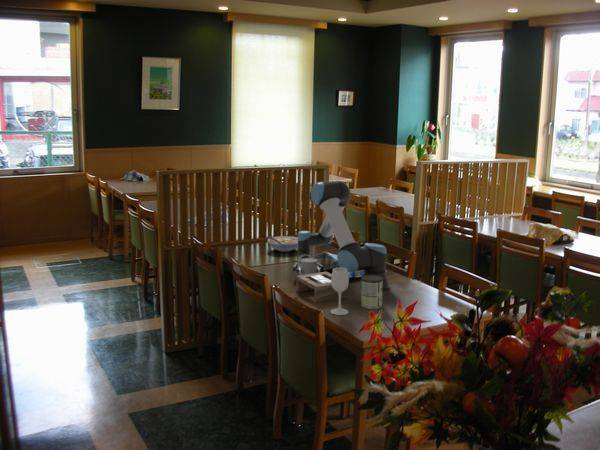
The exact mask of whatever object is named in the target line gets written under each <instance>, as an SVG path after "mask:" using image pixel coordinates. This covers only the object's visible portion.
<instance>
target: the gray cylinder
mask: <svg viewBox="0 0 600 450" xmlns="http://www.w3.org/2000/svg"><path fill="white" fill-rule="evenodd" d="M317 262H319V261H318V259H317V258H314V257H311V258H303V259H300V269H301V275H306V274H313V273H318V272H317Z"/></svg>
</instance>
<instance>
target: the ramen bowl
mask: <svg viewBox="0 0 600 450" xmlns="http://www.w3.org/2000/svg"><path fill="white" fill-rule="evenodd" d="M266 238H268V239H267V242H268V244H269V245H270V247H271V248H272V249H273V250H276V251H278V252H281V253H289V252H291V251H293V250H296V249H298V236H297V237H296V236H284V235H283V236H274V237H273V236H271V235H267V236H266Z"/></svg>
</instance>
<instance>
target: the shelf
mask: <svg viewBox="0 0 600 450" xmlns="http://www.w3.org/2000/svg"><path fill="white" fill-rule="evenodd" d="M314 275H315V276H316V275H322V276H324V277H325V278H327V279H329V280H331V277H332V273H330V272H328V271H323V272H322V271H321V272H320V273H318V272H317V273H313V274H306V275H299V274H298V275H296V276H295V277H296V279H295V280H296V285H295V286H296V288H295V289H296V291H297V293H298V292H303V291H305V292H306V291H312V290H314V291H313V293H314V295H313V296H314V303H322V302H326V301H333V300H339V294H338V292H337V291H335V290H334V289H333V287H332V284H331V282H329V283H321V284H317V283H315V282H313V281H311V280H310V276H314ZM348 288H349V286H348V287H347V289H346V290H345V291H343V292H342V293H341V299H346V298H348V295H349V294H348V293H349V292H348Z"/></svg>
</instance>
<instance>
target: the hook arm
mask: <svg viewBox="0 0 600 450" xmlns="http://www.w3.org/2000/svg"><path fill="white" fill-rule="evenodd" d="M310 280H311V281H313V282H315V283H317V284H321V283H329V282H331V280H329V279H327V278H325V277H324V276H322V275H316V276H315V275H314V276H310Z"/></svg>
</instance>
